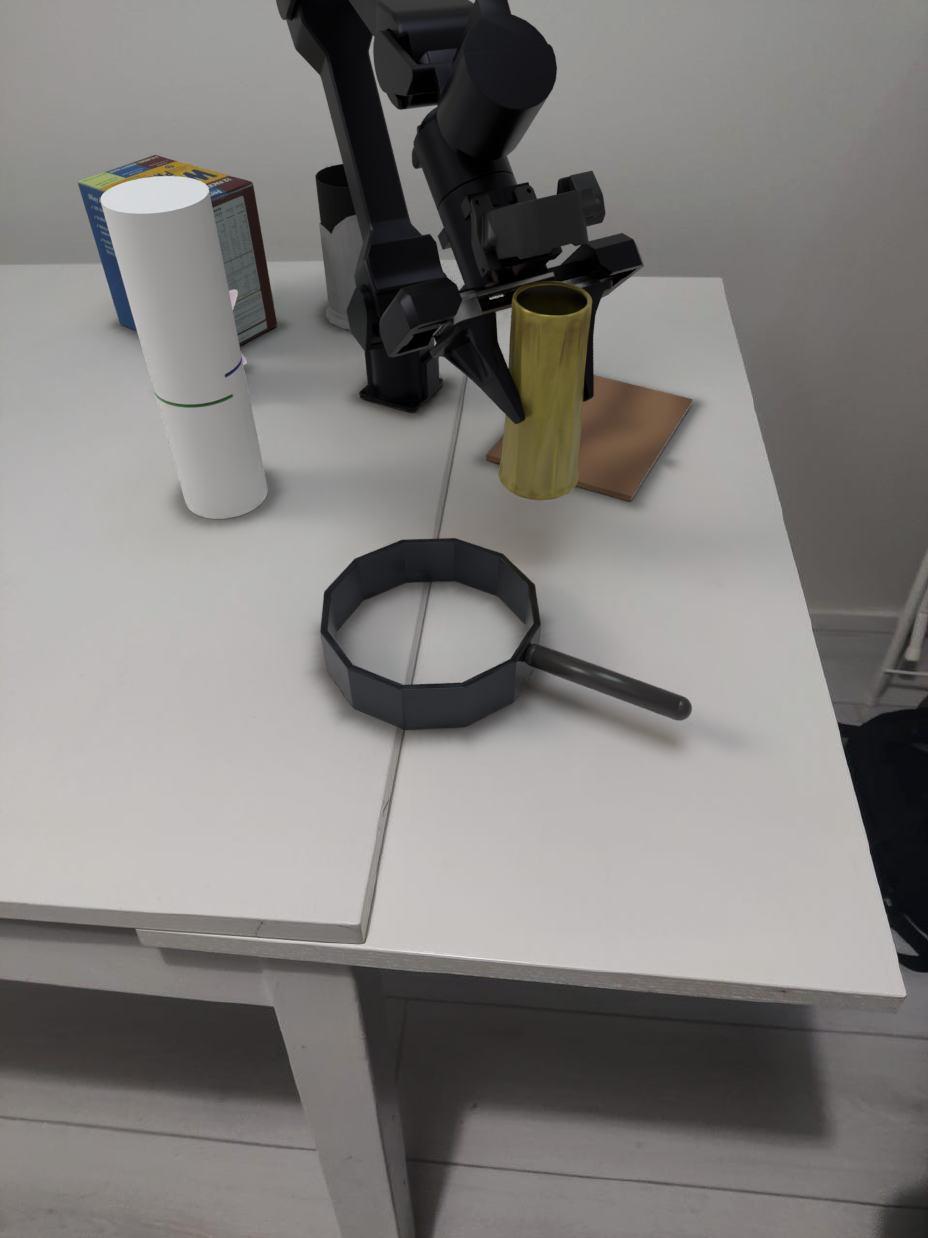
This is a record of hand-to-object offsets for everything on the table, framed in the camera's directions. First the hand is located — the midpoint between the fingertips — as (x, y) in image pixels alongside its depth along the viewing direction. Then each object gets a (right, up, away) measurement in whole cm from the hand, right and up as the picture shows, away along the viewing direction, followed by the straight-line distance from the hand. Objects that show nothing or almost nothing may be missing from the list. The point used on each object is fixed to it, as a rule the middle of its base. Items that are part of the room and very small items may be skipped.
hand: (554, 410), depth 61 cm
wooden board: (+6, +3, +22) cm, 23 cm away
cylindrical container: (-27, -4, +16) cm, 32 cm away
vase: (-1, -4, +6) cm, 7 cm away
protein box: (-37, +19, +38) cm, 56 cm away
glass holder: (-19, +23, +42) cm, 52 cm away
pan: (-4, -18, 0) cm, 19 cm away
